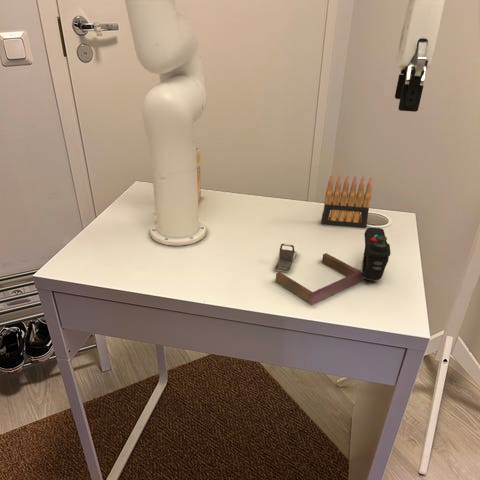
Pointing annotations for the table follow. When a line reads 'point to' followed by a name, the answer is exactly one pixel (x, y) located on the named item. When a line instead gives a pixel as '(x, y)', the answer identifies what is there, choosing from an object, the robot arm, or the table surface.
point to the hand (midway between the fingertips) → (405, 104)
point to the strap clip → (286, 258)
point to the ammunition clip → (347, 204)
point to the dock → (327, 291)
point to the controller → (375, 254)
